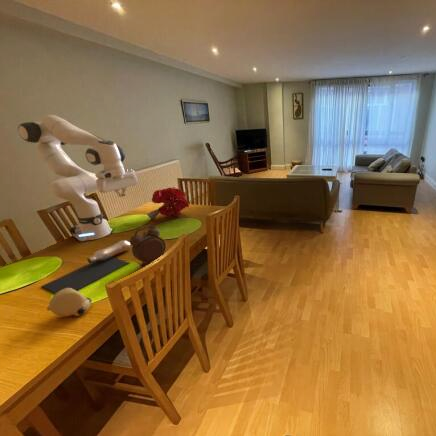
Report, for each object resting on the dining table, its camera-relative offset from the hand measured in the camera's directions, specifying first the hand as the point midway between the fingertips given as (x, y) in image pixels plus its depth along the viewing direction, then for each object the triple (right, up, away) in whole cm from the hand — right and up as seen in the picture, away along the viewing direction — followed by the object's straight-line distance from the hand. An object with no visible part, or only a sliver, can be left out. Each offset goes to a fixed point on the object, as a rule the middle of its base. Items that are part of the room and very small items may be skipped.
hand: (122, 196), depth 136 cm
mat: (-2, -40, -20) cm, 45 cm away
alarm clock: (+23, -36, -10) cm, 44 cm away
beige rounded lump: (+12, -49, -43) cm, 66 cm away
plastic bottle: (+2, -27, +2) cm, 27 cm away
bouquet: (+3, -11, +49) cm, 50 cm away
